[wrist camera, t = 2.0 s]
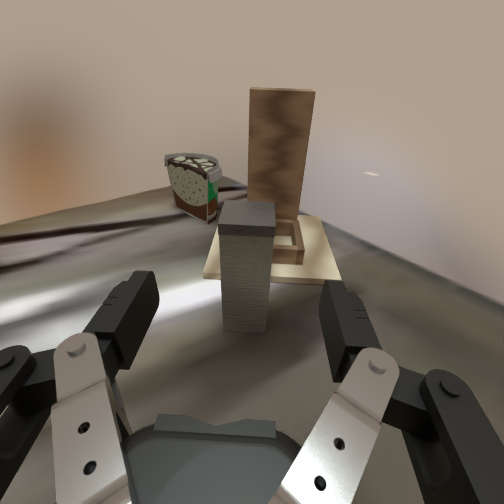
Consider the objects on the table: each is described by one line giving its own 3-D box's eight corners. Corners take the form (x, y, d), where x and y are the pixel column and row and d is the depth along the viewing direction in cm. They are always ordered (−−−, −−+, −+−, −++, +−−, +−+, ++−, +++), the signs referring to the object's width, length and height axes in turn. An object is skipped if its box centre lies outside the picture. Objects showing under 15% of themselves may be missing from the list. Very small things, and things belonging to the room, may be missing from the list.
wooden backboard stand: (203, 278, 35) (186, 95, 23) (222, 216, 50) (217, 84, 38) (339, 285, 35) (393, 103, 23) (318, 220, 50) (343, 89, 38)
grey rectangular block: (222, 330, 28) (217, 223, 21) (228, 300, 32) (225, 200, 25) (265, 333, 28) (275, 226, 21) (265, 302, 32) (274, 202, 25)
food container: (237, 215, 50) (237, 162, 45) (213, 227, 47) (210, 170, 41) (195, 197, 57) (190, 148, 51) (171, 206, 53) (163, 154, 47)
